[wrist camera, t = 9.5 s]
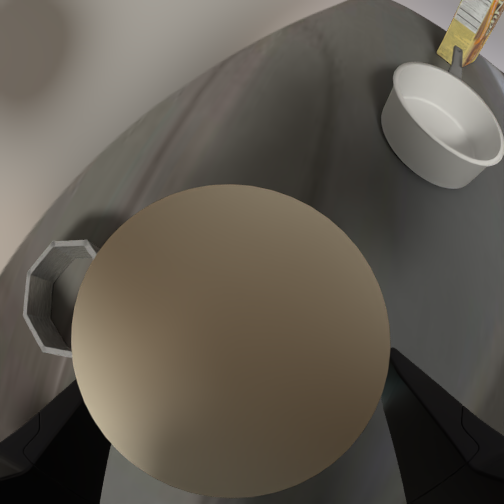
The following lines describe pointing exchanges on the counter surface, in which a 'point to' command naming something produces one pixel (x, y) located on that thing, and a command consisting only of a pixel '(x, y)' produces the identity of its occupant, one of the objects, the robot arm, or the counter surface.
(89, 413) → the robot arm
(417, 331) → the counter surface
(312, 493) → the counter surface
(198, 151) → the counter surface
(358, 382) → the maple peg
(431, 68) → the saucepan
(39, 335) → the steel holder
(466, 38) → the candy box
